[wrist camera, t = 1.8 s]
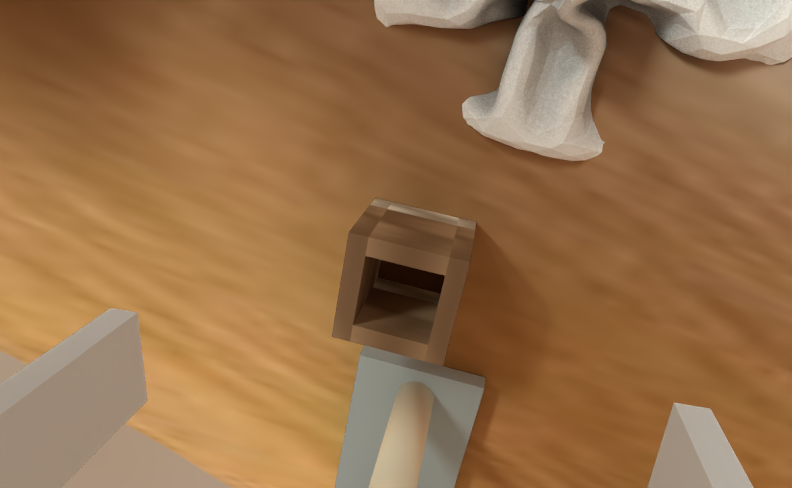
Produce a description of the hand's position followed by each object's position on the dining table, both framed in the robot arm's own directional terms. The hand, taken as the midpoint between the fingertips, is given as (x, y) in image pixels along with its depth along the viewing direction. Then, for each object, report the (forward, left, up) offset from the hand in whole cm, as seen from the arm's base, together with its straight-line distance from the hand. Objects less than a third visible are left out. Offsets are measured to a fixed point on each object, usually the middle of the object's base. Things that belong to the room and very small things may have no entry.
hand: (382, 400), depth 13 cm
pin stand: (+1, -17, -19) cm, 26 cm away
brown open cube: (-1, -4, -19) cm, 20 cm away
